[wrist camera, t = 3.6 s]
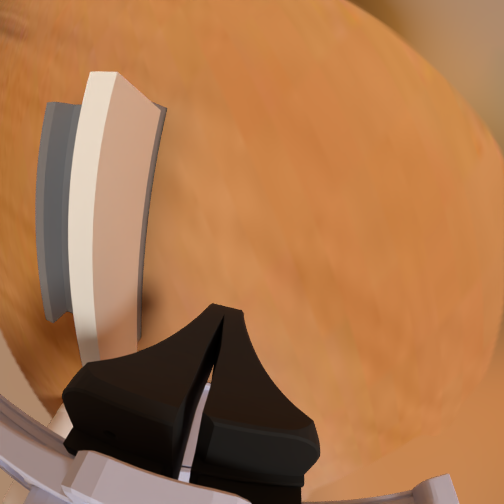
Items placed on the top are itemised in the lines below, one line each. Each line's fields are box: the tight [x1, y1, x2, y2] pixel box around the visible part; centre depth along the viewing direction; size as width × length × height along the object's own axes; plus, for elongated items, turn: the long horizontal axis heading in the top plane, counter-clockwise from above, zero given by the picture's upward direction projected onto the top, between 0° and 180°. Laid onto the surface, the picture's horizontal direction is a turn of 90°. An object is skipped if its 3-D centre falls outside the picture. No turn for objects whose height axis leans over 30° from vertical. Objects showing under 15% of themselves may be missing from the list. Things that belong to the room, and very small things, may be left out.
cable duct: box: [36, 102, 167, 343], centre depth 17 cm, size 18×9×3 cm, turn 167°
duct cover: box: [68, 72, 161, 366], centre depth 12 cm, size 17×9×1 cm
